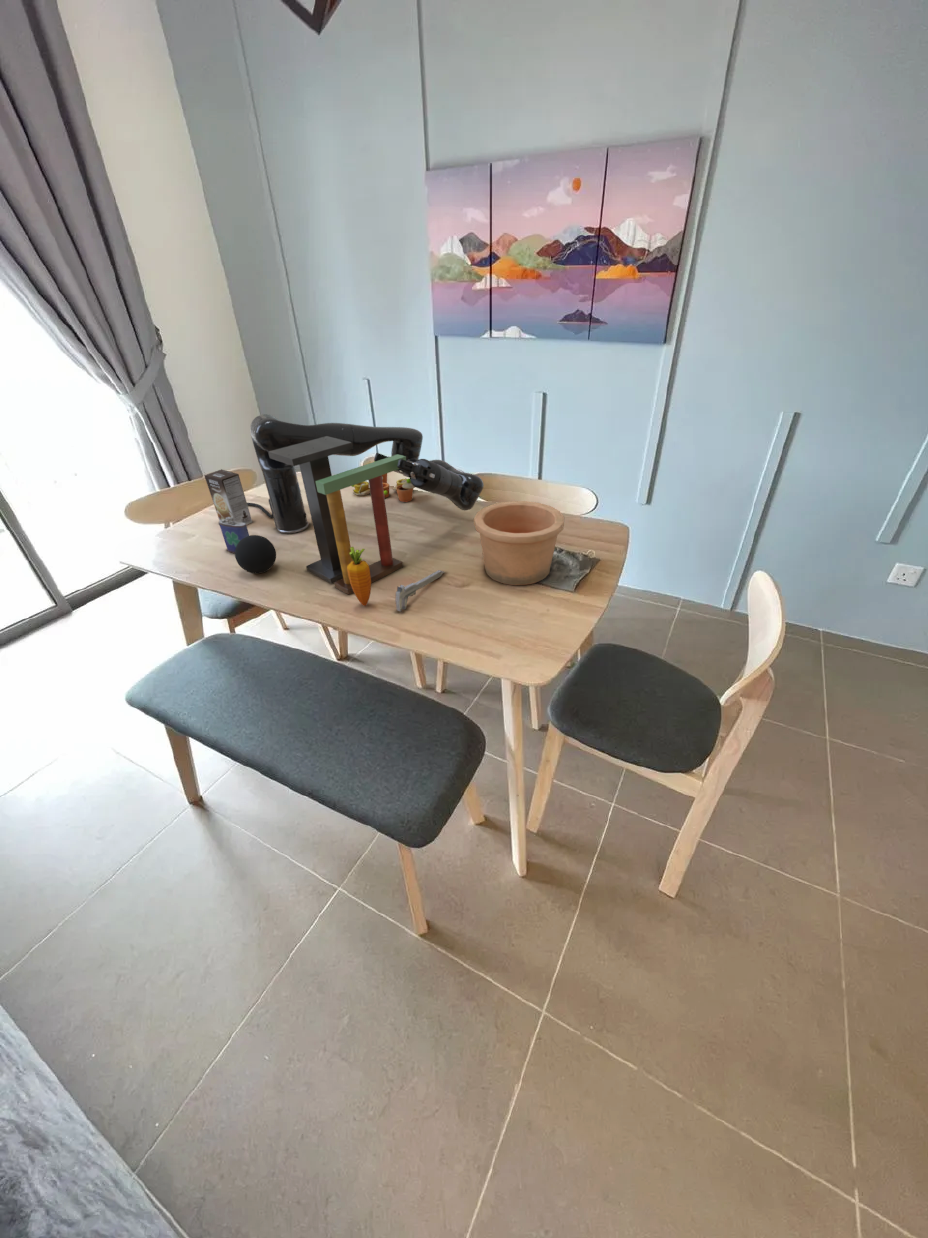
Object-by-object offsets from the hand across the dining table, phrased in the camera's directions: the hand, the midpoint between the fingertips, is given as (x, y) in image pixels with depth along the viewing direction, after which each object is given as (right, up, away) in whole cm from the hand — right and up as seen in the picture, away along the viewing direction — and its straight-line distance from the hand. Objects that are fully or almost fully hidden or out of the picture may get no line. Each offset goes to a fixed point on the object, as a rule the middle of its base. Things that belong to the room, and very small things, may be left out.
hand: (387, 460), depth 118 cm
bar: (-5, -5, -3) cm, 8 cm away
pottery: (+32, -25, +10) cm, 42 cm away
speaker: (-36, -25, +14) cm, 46 cm away
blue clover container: (-46, -19, +25) cm, 56 cm away
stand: (-16, -25, +14) cm, 32 cm away
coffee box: (-55, -7, +42) cm, 70 cm away
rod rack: (-6, -27, +9) cm, 29 cm away
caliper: (+8, -32, +3) cm, 33 cm away
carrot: (-5, -35, -2) cm, 35 cm away
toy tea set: (-9, +7, +60) cm, 61 cm away
